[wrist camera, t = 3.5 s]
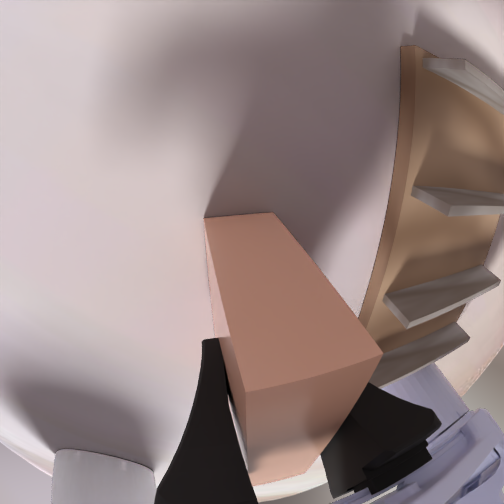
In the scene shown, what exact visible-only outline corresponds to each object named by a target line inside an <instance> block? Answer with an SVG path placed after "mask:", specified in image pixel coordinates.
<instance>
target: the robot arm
mask: <svg viewBox="0 0 504 504" xmlns="http://www.w3.org/2000/svg"><path fill="white" fill-rule="evenodd" d="M468 411H469V408H468V407H467V406H466V404H465V403H464V401H463V400H462V399H461V397H460V396H459V395H458V393H457V392H456V390H455V389H454V388H453V386H452V385H451V384H450V382H449V381H448V380H447V378H446V377H445V376H444V375H443V373H442V372H441V371H440V369H439V368H438V367H437V366H436V364H435V363H432V364H430V365H428V366H426V367H425V368H423V369H421V370H419V371H417V372H415V373H413V374H411V375H409V376H407V377H405V378H403V379H401V380H399V381H397V382H395V383H393V384H391V385H388V386H386V387H384V388H382V389H380V388H378V387H376V386H375V385H373V384H371V383H370V382H368V383H367V385H366V387H365V388H364V390H363V392H362V393H361V395H360V397H359V398H358V400H357V402H356V403H355V405H354V406H353V408H352V410H351V411H350V413H349V414H348V416H347V417H346V419H345V420H344V422H343V423H342V425H341V426H340V428H339V429H338V431H337V432H336V433H335V435H334V436H333V438H332V439H331V440H330V442H329V443H328V444H327V446H326V447H325V448H324V450H323V451H322V452H321V454H320V455H321V458H322V462H323V465H324V468H325V472H326V476H327V480H328V483H329V488H330V492H331V494H332V497H333V498H336V497H339V496H341V495H344V494H346V493H349V492H351V491H353V490H354V492H355V493H354V494H352V495H350V496H347V497H345V498H343V499H340V500H338V501H335V502H332V503H330V504H362V503H364V502H366V501H368V500H370V499H372V498H374V497H376V496H378V495H380V494H382V493H384V492H386V491H388V490H389V489H391V488H393V487H395V486H396V485H398V486H397V489H396V490H395V491H393V492H391V493H389V494H387V495H385V496H383V497H381V498H379V499H377V500H375V501H374V502H372V503H370V504H504V494H503V492H502V490H501V489H502V488H503V486H504V434H503V432H502V431H501V429H500V427H499V426H498V424H497V423H496V422H495V420H494V419H493V417H492V416H491V415H490V413H489V412H488V411H487V409H485V408H481V409H480V408H478V409H477V410H476V411H475V412H474V411H473V410H471V411H469V412H468ZM467 412H468V413H467ZM466 413H467V414H466ZM465 414H466V415H465ZM464 415H465V416H464ZM154 504H258V501H257V498H256V495H255V493H254V490H253V487H252V484H251V481H250V478H249V475H248V471H247V468H246V465H245V462H244V458H243V455H242V452H241V448H240V445H239V441H238V438H237V434H236V430H235V427H234V423H233V419H232V415H231V411H230V407H229V402H228V394H227V386H226V378H225V369H224V361H223V355H222V351H221V346H220V342H219V338H212V339H205V340H203V341H202V360H201V369H200V374H199V380H198V386H197V390H196V394H195V398H194V403H193V406H192V410H191V413H190V416H189V420H188V423H187V426H186V428H185V431H184V434H183V436H182V439H181V442H180V444H179V446H178V449H177V451H176V453H175V455H174V457H173V459H172V462H171V464H170V466H169V468H168V470H167V472H166V473H165V475H164V477H163V479H162V481H161V482H160V484H159V486H158V488H157V490H156V495H155V500H154Z"/></svg>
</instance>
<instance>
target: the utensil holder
mask: <svg viewBox="0 0 504 504" xmlns="http://www.w3.org/2000/svg"><path fill="white" fill-rule="evenodd" d="M155 495H156V484H155V477H154V473H153V471H152V470H150V469H149V468H147V467H145V466H143V465H140V464H137V463H134V462H131V461H128V460H124V459H121V458H117V457H112V456H108V455H104V454H99V453H94V452H89V451H82V450H74V449H61V450H58V451H57V452H56V454H55V460H54V468H53V478H52V497H51V498H52V499H51V503H52V504H154V500H155Z"/></svg>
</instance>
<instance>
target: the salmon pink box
mask: <svg viewBox="0 0 504 504" xmlns="http://www.w3.org/2000/svg"><path fill="white" fill-rule="evenodd" d="M203 219H204V232H205V245H206V256H207V267H208V278H209V288H210V297H211V306H212V315H213V324H214V332H215V338H219V342H220V346H221V351H222V355H223V361H224V369H225V378H226V386H227V394H228V402H229V407H230V411H231V415H232V419H233V423H234V427H235V430H236V434H237V438H238V441H239V445H240V448H241V452H242V455H243V458H244V462H245V465H246V468H247V471H248V475H249V478H250V481H251V484H252V486H257V485H262V484H266V483H271V482H275V481H279V480H283V479H287V478H290V477H294V476H297V475H301V474H304V473H305V472H306V471H307V470H308V469H309V467H310V466H311V465H312V464H313V463H314V461H315V460H316V459H317V458H318V456H319V455H320V454H321V452H322V451H323V450H324V448H325V447H326V446H327V444H328V443H329V442H330V440H331V439H332V438H333V436H334V435H335V433H336V432H337V431H338V429H339V428H340V426H341V425H342V423H343V422H344V420H345V419H346V417H347V416H348V414H349V413H350V411H351V410H352V408H353V406H354V405H355V403H356V402H357V400H358V398H359V397H360V395H361V393H362V392H363V390H364V388H365V387H366V385H367V383H368V381H369V380H370V378H371V376H372V374H373V372H374V371H375V369H376V367H377V365H378V363H379V361H380V359H381V357H382V355H383V352H382V351H381V349H380V348H379V346H378V345H377V344H376V342H375V341H374V340H373V338H372V337H371V336H370V334H369V333H368V331H367V330H366V329H365V327H364V326H363V325H362V323H361V322H360V321H359V319H358V318H357V317H356V315H355V314H354V313H353V311H352V310H351V309H350V307H349V306H348V305H347V304H346V302H345V301H344V300H343V298H342V297H341V296H340V294H339V293H338V292H337V291H336V289H335V288H334V287H333V285H332V284H331V283H330V282H329V280H328V279H327V278H326V276H325V275H324V274H323V273H322V271H321V270H320V269H319V268H318V266H317V265H316V264H315V263H314V261H313V260H312V259H311V258H310V256H309V255H308V254H307V253H306V251H305V250H304V249H303V248H302V247H301V245H300V244H299V243H298V242H297V240H296V239H295V238H294V237H293V236H292V234H291V233H290V232H289V231H288V230H287V228H286V227H285V226H284V225H283V224H282V222H281V221H280V220H279V219H278V218H277V216H276V215H275V214H274V213H273V212H270V213H257V214H245V215H234V216H223V217H213V218H203Z"/></svg>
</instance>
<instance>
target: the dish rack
mask: <svg viewBox="0 0 504 504" xmlns="http://www.w3.org/2000/svg"><path fill="white" fill-rule="evenodd" d="M500 214H504V90H503V89H502V88H501V87H500V86H499V85H498V84H496V83H495V82H494V81H493V80H492V79H490V78H489V77H488V76H487V75H486V74H484V73H483V72H482V71H480V70H479V69H478V68H476V67H475V66H474V65H472V64H471V63H470V62H468V61H467V60H465V59H453V58H439V57H437V56H435V55H433V54H431V53H429V52H427V51H426V50H424V49H422V48H420V47H418V46H415V45H413V46H402V47H401V95H400V114H399V128H398V138H397V148H396V156H395V164H394V171H393V178H392V184H391V190H390V196H389V202H388V207H387V212H386V217H385V222H384V227H383V231H382V236H381V240H380V245H379V249H378V253H377V257H376V261H375V265H374V268H373V272H372V276H371V279H370V283H369V286H368V290H367V293H366V296H365V300H364V303H363V306H362V309H361V312H360V315H359V318H358V319H359V321H360V322H361V323H362V325H363V326H364V327H365V329H366V330H367V331H368V333H369V334H370V336H371V337H372V338H373V340H374V341H375V342H376V344H377V345H378V346H379V348H380V349H381V351H382V352H383V355H382V357H381V359H380V361H379V363H378V365H377V367H376V369H375V371H374V372H373V374H372V376H371V378H370V380H369V381H368V382H370V383H371V384H373V385H375V386H376V387H378V388H380V389H382V388H384V387H386V386H388V385H391V384H393V383H395V382H397V381H399V380H401V379H403V378H405V377H407V376H409V375H411V374H413V373H415V372H417V371H419V370H421V369H423V368H425V367H426V366H428V365H430V364H432V363H434V362H435V361H437V360H439V359H441V358H442V357H444V356H446V355H447V354H449V353H451V352H452V351H454V350H455V349H457V348H459V347H460V346H462V345H463V344H465V343H466V342H468V341H469V339H470V337H469V336H468V335H467V333H466V332H465V331H464V330H463V329H462V328H461V327H460V326H459V325H458V324H457V323H456V322H457V320H458V318H459V316H460V314H461V313H462V311H463V309H464V307H465V305H466V303H467V302H469V301H471V300H473V299H475V298H477V297H478V296H480V295H482V294H484V293H486V292H488V291H490V290H491V289H493V288H495V287H497V286H499V284H500V281H501V280H500V279H499V278H498V277H496V276H495V275H494V274H493V273H492V272H490V271H489V270H488V269H487V268H485V267H484V266H483V264H484V262H485V259H486V257H487V254H488V251H489V248H490V246H491V243H492V240H493V237H494V234H495V230H496V227H497V224H498V221H499V217H500Z"/></svg>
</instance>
